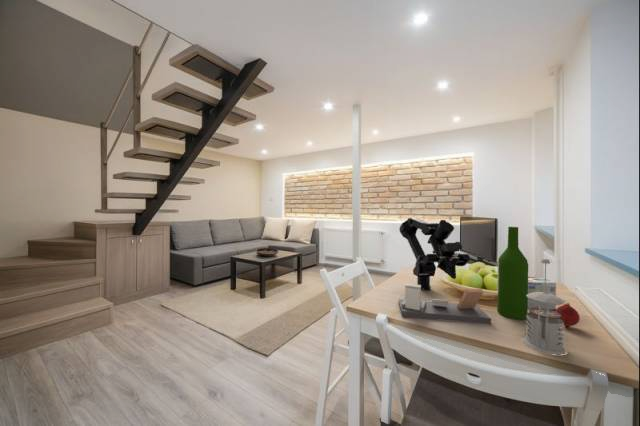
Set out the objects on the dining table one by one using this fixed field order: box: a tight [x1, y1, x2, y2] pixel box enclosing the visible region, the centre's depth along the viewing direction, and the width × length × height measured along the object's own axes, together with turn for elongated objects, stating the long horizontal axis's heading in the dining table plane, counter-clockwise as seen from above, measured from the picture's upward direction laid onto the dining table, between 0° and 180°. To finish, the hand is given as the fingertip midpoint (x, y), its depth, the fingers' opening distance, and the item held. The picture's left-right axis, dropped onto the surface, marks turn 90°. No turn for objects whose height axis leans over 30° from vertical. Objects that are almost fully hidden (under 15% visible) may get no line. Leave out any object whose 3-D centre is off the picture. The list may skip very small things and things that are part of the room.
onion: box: [555, 302, 581, 328], centre depth 83 cm, size 6×6×8 cm
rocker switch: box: [431, 298, 450, 306], centre depth 94 cm, size 4×5×2 cm
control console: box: [397, 298, 492, 325], centre depth 93 cm, size 12×29×4 cm, turn 78°
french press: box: [521, 258, 567, 355], centre depth 70 cm, size 10×12×25 cm
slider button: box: [404, 282, 422, 310], centre depth 93 cm, size 3×5×8 cm, turn 62°
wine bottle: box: [496, 226, 529, 321], centre depth 92 cm, size 9×9×32 cm
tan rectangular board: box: [457, 288, 484, 309], centre depth 91 cm, size 1×6×10 cm
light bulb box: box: [528, 277, 557, 310], centre depth 100 cm, size 11×7×11 cm, turn 84°
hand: (454, 278), depth 99 cm, fingers closed
